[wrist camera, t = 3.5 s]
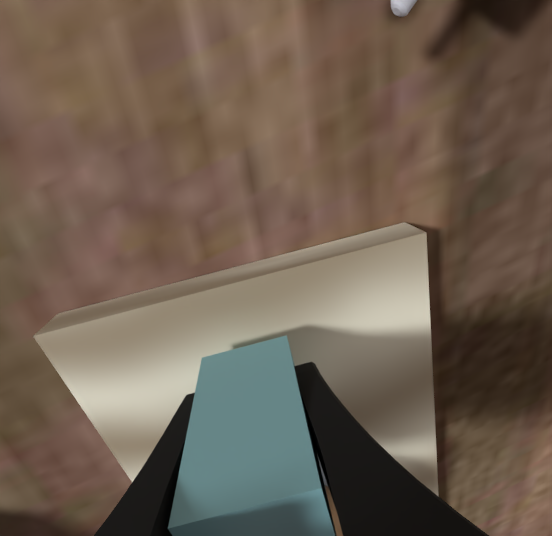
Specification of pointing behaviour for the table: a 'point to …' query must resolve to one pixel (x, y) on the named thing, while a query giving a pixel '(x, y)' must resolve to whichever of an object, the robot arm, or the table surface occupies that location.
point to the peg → (250, 451)
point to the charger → (402, 6)
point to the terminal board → (261, 327)
